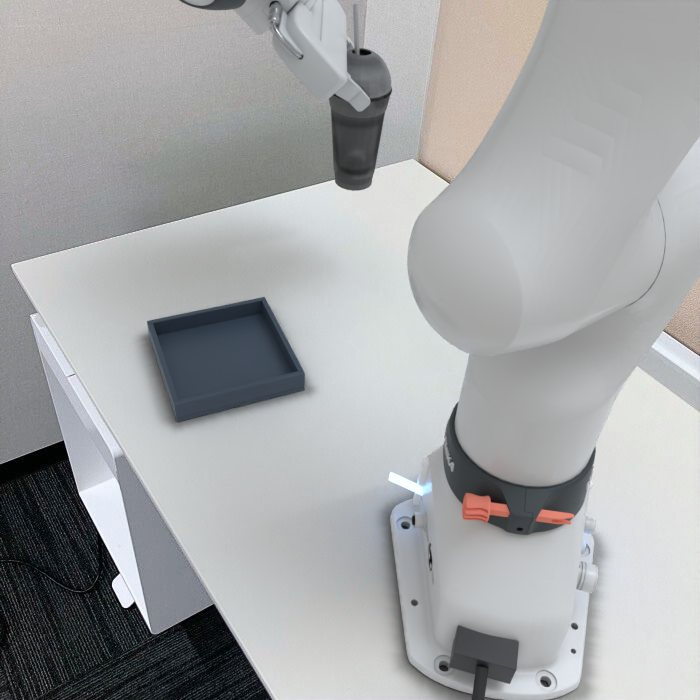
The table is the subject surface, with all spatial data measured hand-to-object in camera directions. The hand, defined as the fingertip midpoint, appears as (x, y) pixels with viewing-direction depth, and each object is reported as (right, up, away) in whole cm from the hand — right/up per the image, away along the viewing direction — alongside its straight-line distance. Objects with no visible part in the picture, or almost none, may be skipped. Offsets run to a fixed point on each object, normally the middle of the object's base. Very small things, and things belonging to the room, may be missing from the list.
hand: (364, 88), depth 82 cm
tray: (-16, -30, +3) cm, 34 cm away
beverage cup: (-1, -9, +8) cm, 12 cm away
